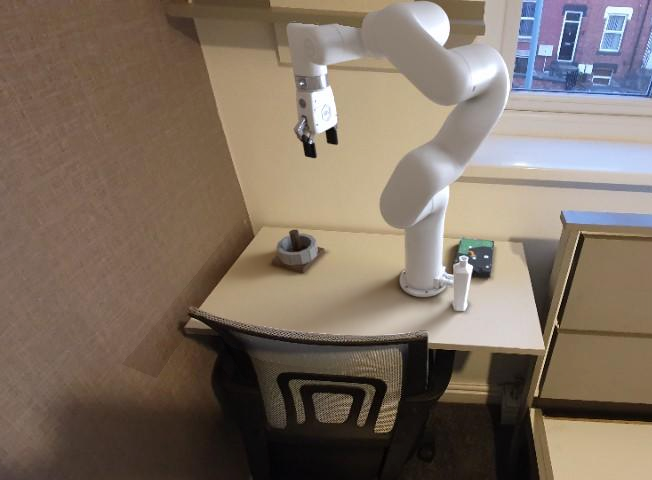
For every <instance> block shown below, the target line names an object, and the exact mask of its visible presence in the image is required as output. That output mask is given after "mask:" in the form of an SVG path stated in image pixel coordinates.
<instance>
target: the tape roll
mask: <svg viewBox="0 0 652 480" xmlns="http://www.w3.org/2000/svg"><path fill="white" fill-rule="evenodd" d="M299 236H300V241H301V246H306V247H308V248H307V249H305V250H302V251H300V252H287V251H288V250H289V249H291V248H292V244H291V239H290V235H287V236H284V237H283V238H282V239H280V240H279V241H278V242H277V245H276V251H277V255H279V259H280V260H281V261H282V263H284V264H288V265H292V266H293V265H301V264H302V265H303V264H305V263H308V262H310V261H312V260H313V259H314V258H315V257H316V256H317V252H318V249H317V247H318V244H317V240H316V238H315V237H314V236H313V235H311V234H308V233H304V232H303V233H299Z"/></svg>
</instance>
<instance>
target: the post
mask: <svg viewBox="0 0 652 480" xmlns="http://www.w3.org/2000/svg"><path fill="white" fill-rule="evenodd" d="M288 234H289V235H290V239H291V244H292V248H291V249H289V250H288V251H287V252H300V251H302V250H305V249H307V248H308V247H306V246H301V241H300V236H299V234H300V232H299V230H298V229H291V230H289V232H288ZM289 235H288V236H289ZM317 249H318V252H317V256H316V257H315V258H314V259H313V260H312V261H310V262H308V263H305V264H303V265H302V264H301V265H293V266H292V265H288V264H284V263H282V261H281V260H280V259H279V255H278V254H277V255H276V256H275V257H273V258H272V259H271V262H272V265H274V266H278V267H280V268H284V269H288V270H290V271H291V270H292V271H295V272H298V273H302V274H304V273H306V271H308V270H309V269H310V268H311V267H312V266H313V265H314V264H315V263H316V262H317V261H319V259H320V258H321V257H322V256H324V254H326V249H325V248H324V247H320V246H317Z"/></svg>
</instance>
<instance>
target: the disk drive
mask: <svg viewBox="0 0 652 480" xmlns="http://www.w3.org/2000/svg"><path fill="white" fill-rule="evenodd" d="M494 249H495V240H489V239H482V238H469V237H464V236H463V237H461V238H460V239H459V241H458V247H457V251H456V256H455V259H454V264H457V263H459V260H460V259H459V257H460V256H463V255H464V256H466V257H468V264H469V265H471V266H473V269H472V274H471V277H476V278H486V279H490V278H491V275H492V269H493V268H492V267H493V266H492V265H493V257H494ZM454 264H453V265H454Z"/></svg>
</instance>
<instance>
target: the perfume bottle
mask: <svg viewBox="0 0 652 480" xmlns="http://www.w3.org/2000/svg"><path fill="white" fill-rule="evenodd" d="M459 259H460V260H459V263H457V264H453V265H452V269H453V270H452V271H453V273H452V275H453V278H454V280H453V281H454V288H453V301H452V303H451V305H452V307H453V310H454V311H457V312H465V311H466V309H467V307H468V302H467V300H468V296H469V289H470V284H471V278H472V276H471V274H472V269H473V266H471V265H469V264H468V257H466V256H464V255H463V256H460V257H459Z"/></svg>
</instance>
